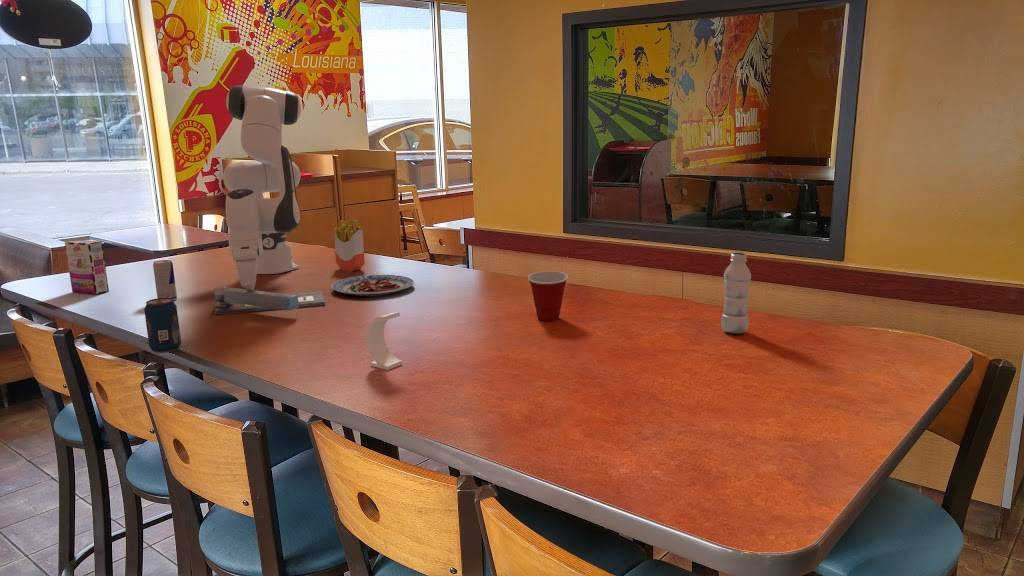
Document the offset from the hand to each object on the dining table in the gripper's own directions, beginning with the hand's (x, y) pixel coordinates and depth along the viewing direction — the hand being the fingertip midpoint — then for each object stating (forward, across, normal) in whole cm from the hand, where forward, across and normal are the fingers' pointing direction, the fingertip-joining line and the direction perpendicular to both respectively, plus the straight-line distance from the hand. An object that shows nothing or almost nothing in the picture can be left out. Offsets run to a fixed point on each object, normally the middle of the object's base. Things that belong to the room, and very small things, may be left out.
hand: (251, 295), depth 207 cm
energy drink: (+4, -19, -25) cm, 32 cm away
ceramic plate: (+5, -12, +36) cm, 38 cm away
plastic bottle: (+4, +66, +116) cm, 133 cm away
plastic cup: (+4, +39, +76) cm, 86 cm away
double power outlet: (+4, -4, +5) cm, 7 cm away
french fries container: (+5, -45, +32) cm, 55 cm away
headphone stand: (+3, +61, +30) cm, 68 cm away
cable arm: (+1, +5, +1) cm, 5 cm away
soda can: (+3, +33, -19) cm, 38 cm away
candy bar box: (+5, -40, -50) cm, 64 cm away
